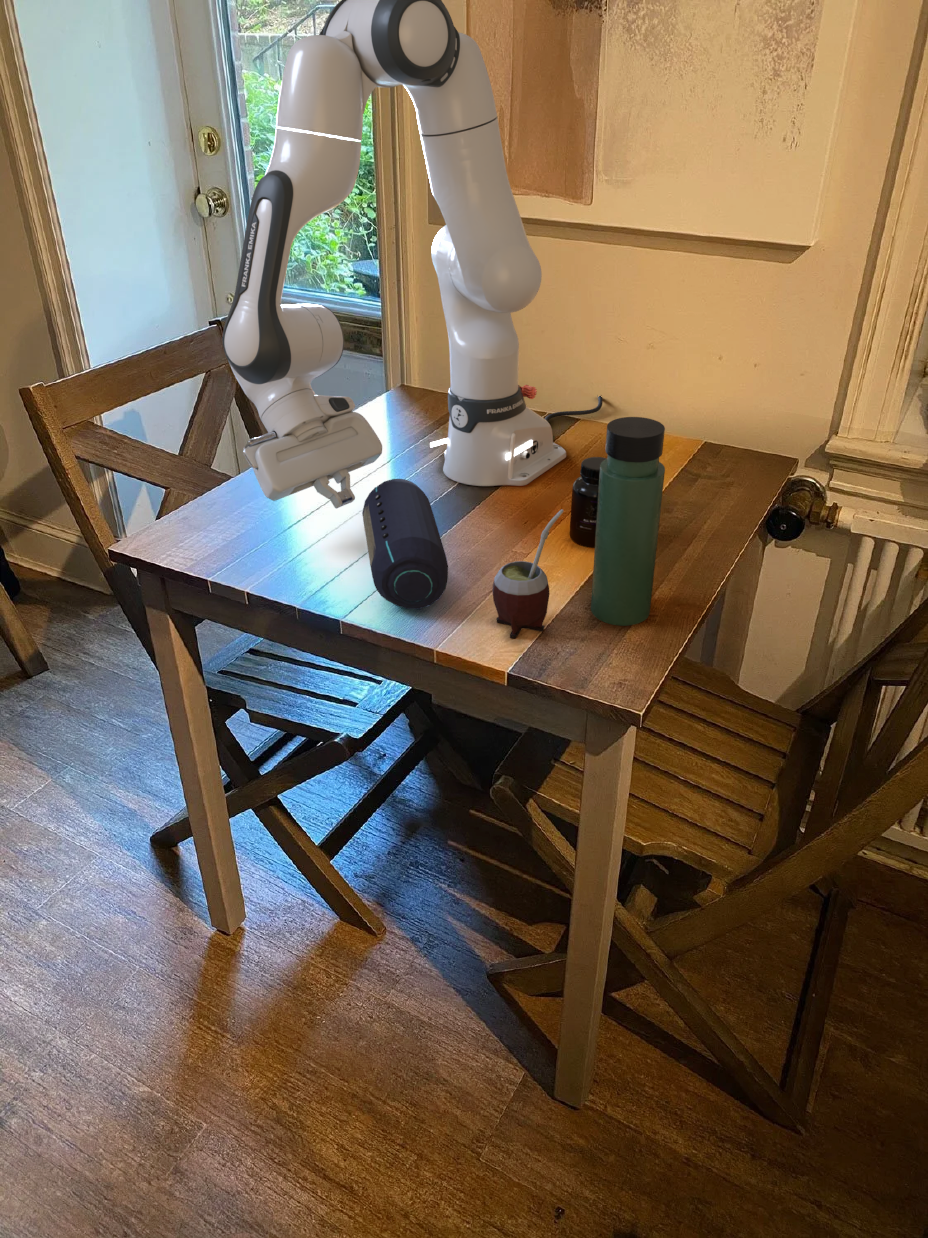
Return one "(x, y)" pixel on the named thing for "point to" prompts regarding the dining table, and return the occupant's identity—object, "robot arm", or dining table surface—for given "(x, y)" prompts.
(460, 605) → the dining table surface
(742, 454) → the dining table surface
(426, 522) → the portable speaker
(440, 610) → the dining table surface
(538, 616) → the mate gourd
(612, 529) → the thermos
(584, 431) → the dining table surface
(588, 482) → the supplement bottle
